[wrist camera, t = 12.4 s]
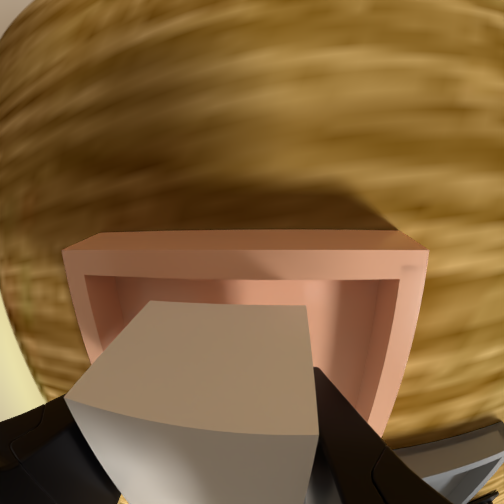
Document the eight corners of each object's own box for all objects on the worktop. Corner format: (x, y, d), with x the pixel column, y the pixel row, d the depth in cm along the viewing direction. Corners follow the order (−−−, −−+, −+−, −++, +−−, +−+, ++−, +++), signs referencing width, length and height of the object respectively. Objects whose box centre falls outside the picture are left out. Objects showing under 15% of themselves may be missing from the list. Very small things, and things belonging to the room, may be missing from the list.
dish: (399, 230, 9) (429, 250, 7) (356, 443, 12) (362, 479, 10) (100, 232, 11) (61, 250, 8) (150, 431, 14) (134, 463, 11)
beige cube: (306, 305, 7) (318, 434, 3) (298, 418, 8) (296, 529, 5) (149, 300, 8) (63, 397, 4) (173, 408, 9) (130, 505, 5)
